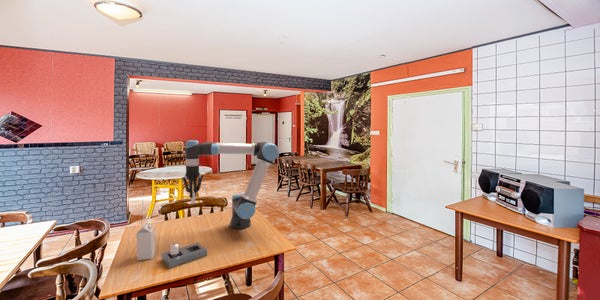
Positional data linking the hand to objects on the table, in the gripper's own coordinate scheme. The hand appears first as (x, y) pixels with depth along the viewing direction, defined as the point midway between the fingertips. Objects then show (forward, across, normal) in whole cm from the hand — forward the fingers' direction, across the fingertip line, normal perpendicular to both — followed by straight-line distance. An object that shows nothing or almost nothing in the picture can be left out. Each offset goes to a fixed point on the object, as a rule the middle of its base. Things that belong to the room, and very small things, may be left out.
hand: (193, 202), depth 166 cm
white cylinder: (+24, +18, +19) cm, 36 cm away
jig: (+24, +13, +19) cm, 34 cm away
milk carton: (+25, +28, +4) cm, 37 cm away
